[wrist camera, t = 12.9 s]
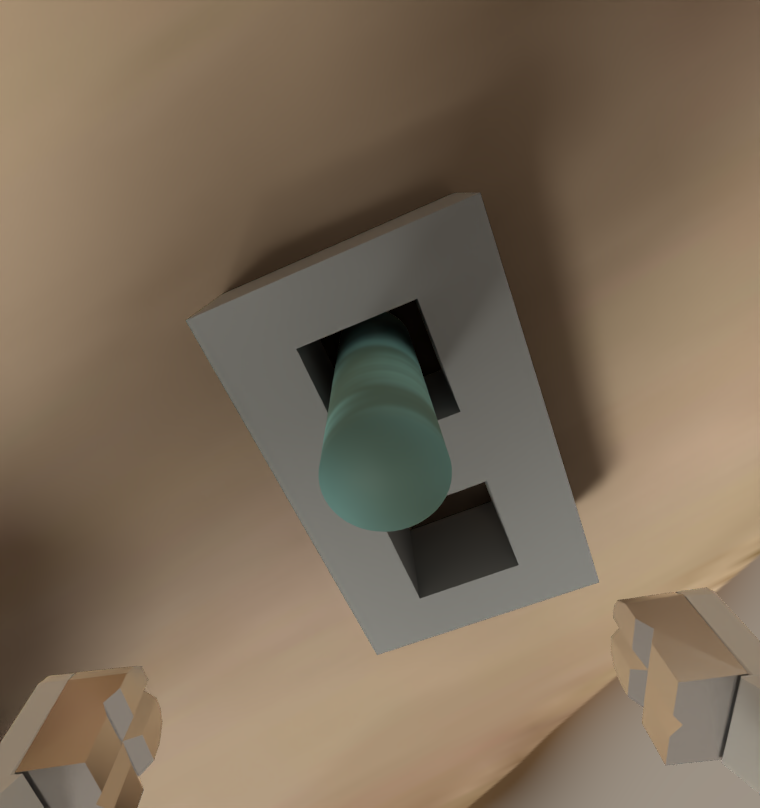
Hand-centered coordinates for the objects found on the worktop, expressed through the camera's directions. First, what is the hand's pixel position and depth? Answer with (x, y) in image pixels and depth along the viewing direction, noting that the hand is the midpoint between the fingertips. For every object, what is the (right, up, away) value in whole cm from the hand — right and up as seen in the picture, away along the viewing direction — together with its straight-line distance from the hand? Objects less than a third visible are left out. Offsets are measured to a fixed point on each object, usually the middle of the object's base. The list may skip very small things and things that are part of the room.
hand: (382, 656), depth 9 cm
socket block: (+2, +4, +21) cm, 21 cm away
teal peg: (0, +8, +19) cm, 21 cm away
